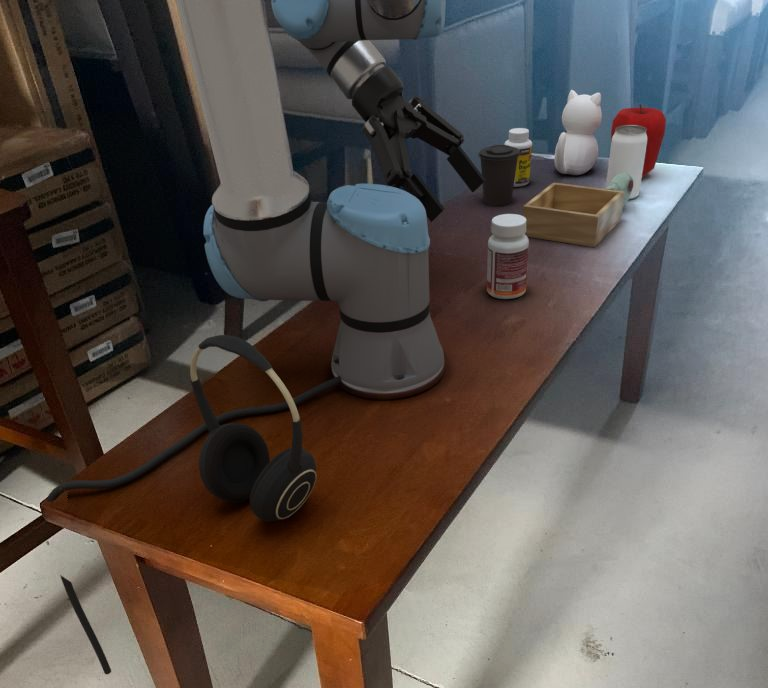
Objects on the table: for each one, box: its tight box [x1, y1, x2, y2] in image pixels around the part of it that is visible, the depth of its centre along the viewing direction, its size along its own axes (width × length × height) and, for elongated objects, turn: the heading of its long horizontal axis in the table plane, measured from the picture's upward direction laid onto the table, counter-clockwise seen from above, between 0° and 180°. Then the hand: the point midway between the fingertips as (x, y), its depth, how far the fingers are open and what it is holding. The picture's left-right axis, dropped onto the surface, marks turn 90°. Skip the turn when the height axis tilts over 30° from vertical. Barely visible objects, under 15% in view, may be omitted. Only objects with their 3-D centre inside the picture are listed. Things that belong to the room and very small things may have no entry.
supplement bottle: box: [503, 127, 533, 188], centre depth 157 cm, size 6×6×10 cm
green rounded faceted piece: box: [605, 173, 633, 206], centre depth 143 cm, size 8×4×7 cm, turn 142°
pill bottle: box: [486, 213, 530, 300], centre depth 118 cm, size 6×6×11 cm
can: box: [605, 125, 647, 201], centre depth 147 cm, size 6×6×12 cm
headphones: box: [189, 334, 317, 522], centre depth 78 cm, size 9×15×20 cm, turn 53°
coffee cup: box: [477, 144, 521, 207], centre depth 150 cm, size 8×8×10 cm
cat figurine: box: [553, 89, 603, 176], centre depth 159 cm, size 9×12×15 cm
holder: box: [522, 182, 625, 248], centre depth 138 cm, size 14×14×5 cm
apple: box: [610, 103, 667, 178], centre depth 155 cm, size 10×10×14 cm
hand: (459, 200), depth 117 cm, fingers open, 13 cm apart
